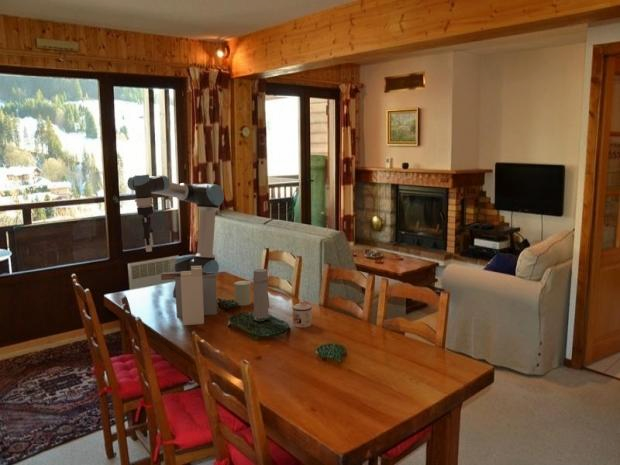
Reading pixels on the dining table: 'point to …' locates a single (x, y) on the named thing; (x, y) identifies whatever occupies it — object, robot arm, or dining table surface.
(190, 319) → the cream stand
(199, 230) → the robot arm
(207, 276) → the grey box
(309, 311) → the teacup with lid
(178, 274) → the walnut pin
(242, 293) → the can
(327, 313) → the dining table surface
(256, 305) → the water bottle
